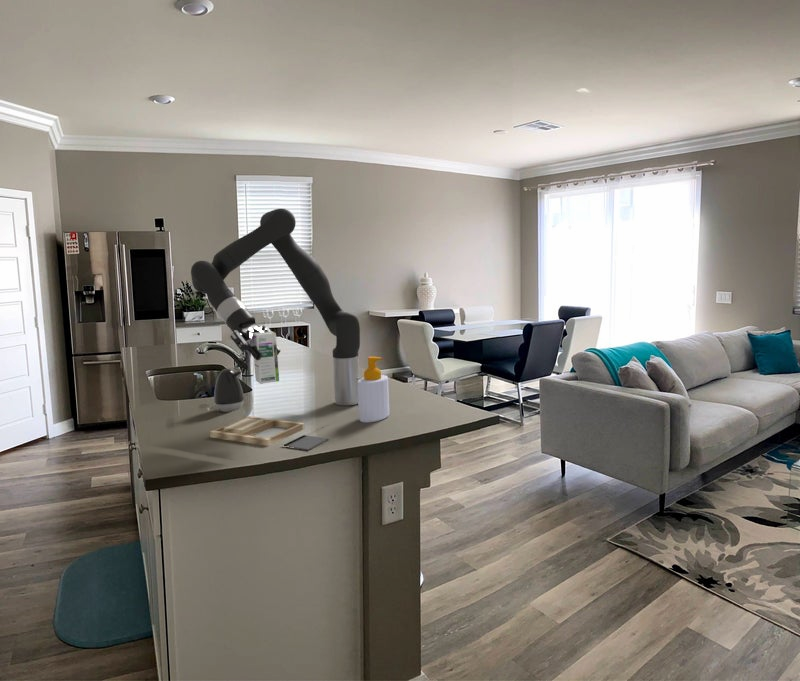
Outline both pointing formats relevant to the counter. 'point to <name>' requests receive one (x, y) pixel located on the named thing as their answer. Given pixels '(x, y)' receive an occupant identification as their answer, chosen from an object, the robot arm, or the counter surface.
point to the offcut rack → (268, 423)
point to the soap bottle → (373, 393)
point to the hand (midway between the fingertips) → (269, 355)
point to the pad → (306, 442)
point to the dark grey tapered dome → (228, 391)
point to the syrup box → (266, 357)
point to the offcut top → (243, 425)
